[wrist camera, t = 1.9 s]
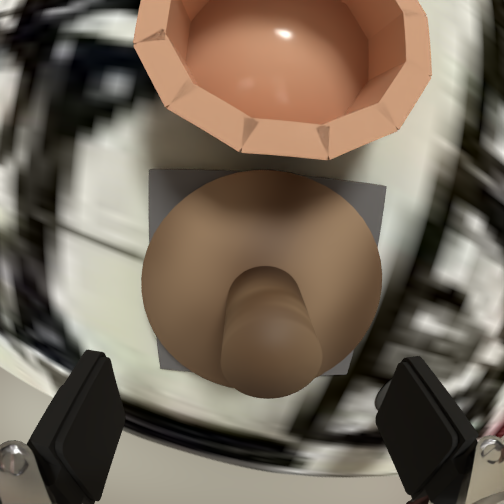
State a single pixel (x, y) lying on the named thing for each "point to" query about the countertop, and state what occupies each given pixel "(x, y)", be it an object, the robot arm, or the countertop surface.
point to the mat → (188, 180)
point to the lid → (261, 281)
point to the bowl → (287, 69)
